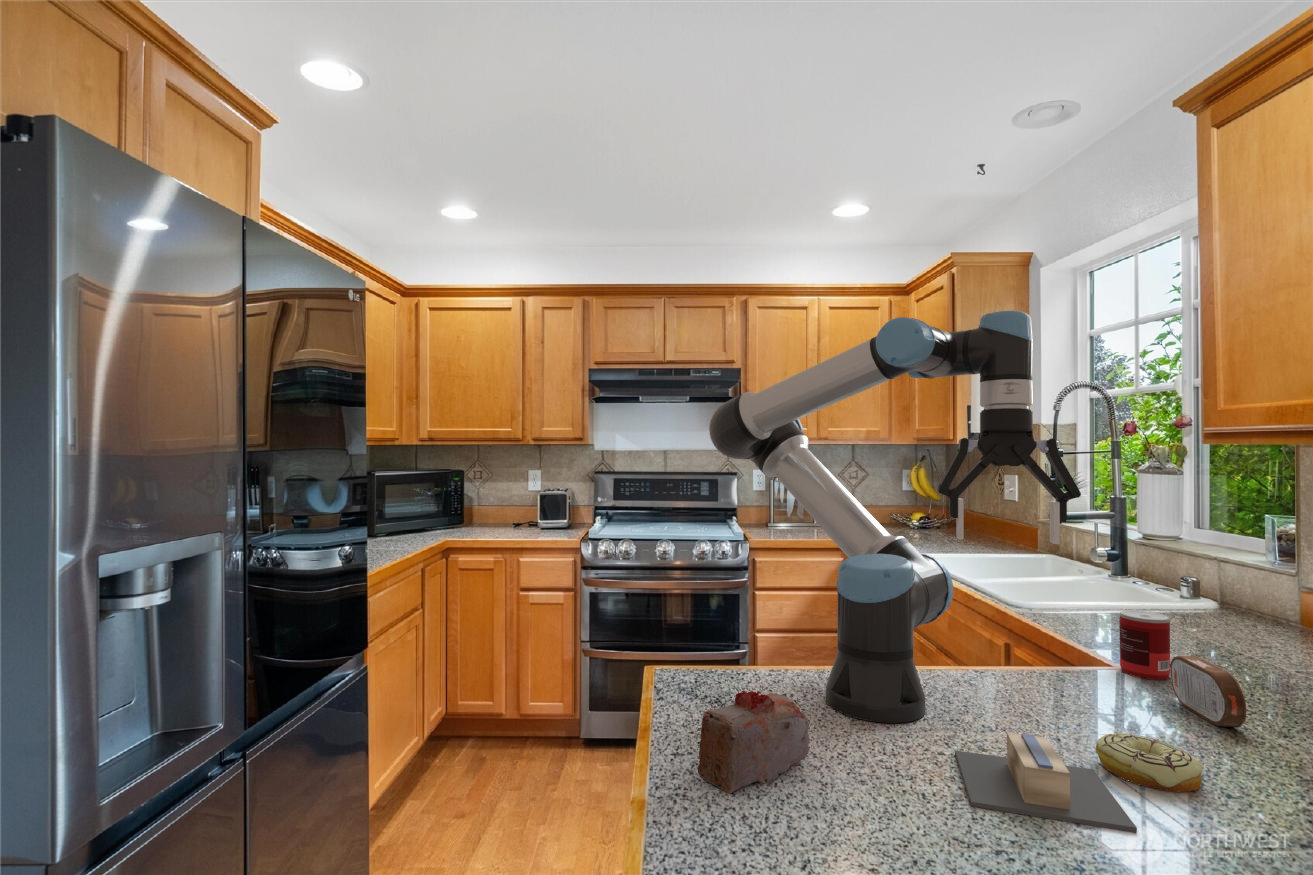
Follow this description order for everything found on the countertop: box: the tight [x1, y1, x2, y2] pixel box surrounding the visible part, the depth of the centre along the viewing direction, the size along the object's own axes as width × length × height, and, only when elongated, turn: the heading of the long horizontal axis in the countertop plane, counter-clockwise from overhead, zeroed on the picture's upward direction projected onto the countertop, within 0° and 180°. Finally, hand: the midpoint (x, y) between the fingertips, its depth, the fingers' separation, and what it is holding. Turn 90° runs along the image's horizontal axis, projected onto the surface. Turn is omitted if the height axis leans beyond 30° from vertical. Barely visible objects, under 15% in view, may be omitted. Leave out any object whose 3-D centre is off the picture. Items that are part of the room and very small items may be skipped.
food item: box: [697, 690, 810, 795], centre depth 82 cm, size 14×8×10 cm, turn 128°
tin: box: [1170, 654, 1247, 728], centre depth 103 cm, size 15×3×8 cm, turn 168°
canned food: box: [1118, 609, 1171, 681], centre depth 124 cm, size 8×8×11 cm
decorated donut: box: [1095, 732, 1204, 793], centre depth 83 cm, size 10×11×4 cm
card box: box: [1006, 732, 1070, 810], centre depth 78 cm, size 10×4×4 cm, turn 162°
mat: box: [954, 750, 1138, 833], centre depth 79 cm, size 16×14×1 cm
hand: (1006, 541), depth 105 cm, fingers open, 13 cm apart
